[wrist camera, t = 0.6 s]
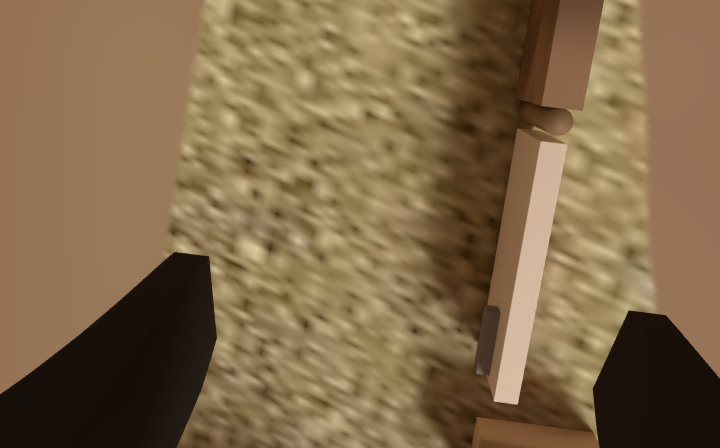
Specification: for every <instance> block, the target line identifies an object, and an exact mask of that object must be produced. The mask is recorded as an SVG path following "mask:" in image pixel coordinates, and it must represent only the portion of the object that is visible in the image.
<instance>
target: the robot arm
mask: <svg viewBox="0 0 720 448" xmlns="http://www.w3.org/2000/svg"><path fill="white" fill-rule="evenodd" d="M216 339H217V335H216V324H215V314H214V303H213V293H212V283H211V272H210V262H209V256H201V255H194V254H186V253H178V252H174V253H173V254H172V255H170V256H169V257H168V258H167V259H166V260H164V261H163V262H162V263H161V264H160V265H159V266H158V267H157V268H155V269H154V270H153V271H152V272H151V273H150V274H149V275H148V276H147V277H146V278H144V279H143V280H142V281H141V282H140V283H139V284H138V285H137V286H136V287H134V288H133V289H132V290H131V291H130V292H129V293H128V294H127V295H125V296H124V297H123V298H122V299H121V300H120V301H119V302H117V303H116V304H115V305H114V306H113V307H112V308H110V309H109V310H108V311H107V312H106V313H105V314H103V315H102V316H101V317H100V318H99V319H97V320H96V321H95V322H94V323H93V324H92V325H90V326H89V327H88V328H87V329H86V330H85V331H83V332H82V333H81V334H80V335H79V336H77V337H76V338H75V339H73V340H72V341H71V342H70V343H69V344H67V345H66V346H65V347H63V348H62V349H61V350H59V351H58V352H57V353H55V354H54V355H53V356H52V357H50V358H49V359H48V360H46V361H45V362H44V363H43V364H41V365H40V366H39V367H38V368H36V369H35V370H33V371H32V372H31V373H29V374H28V375H27V376H25V377H24V378H23V379H21V380H20V381H18V382H17V383H16V384H14V385H13V386H11V387H10V388H9V389H7V390H6V391H4V392H3V393H1V394H0V448H176V447H177V445H178V443H179V440H180V438H181V436H182V434H183V431H184V429H185V427H186V424H187V422H188V420H189V418H190V415H191V413H192V411H193V408H194V406H195V404H196V401H197V399H198V397H199V394H200V392H201V389H202V386H203V383H204V380H205V376H206V373H207V370H208V367H209V363H210V360H211V356H212V353H213V350H214V346H215V343H216ZM593 396H594V406H595V417H596V425H597V434H598V442H599V448H720V378H719V377H718V376H717V375H716V373H715V372H714V371H713V370H712V369H711V367H710V366H709V365H708V364H707V363H706V362H705V360H704V359H703V358H702V357H701V356H700V355H699V353H698V352H697V351H696V350H695V349H694V347H693V346H692V345H691V344H690V343H689V341H688V340H687V339H686V338H685V337H684V336H683V334H682V333H681V332H680V331H679V330H678V329H677V327H676V326H675V325H674V324H673V323H672V322H671V321H670V320H669V318H668V317H667V316H666V315H660V314H652V313H644V312H637V311H628V313H627V316H626V318H625V320H624V322H623V324H622V326H621V329H620V331H619V333H618V335H617V337H616V340H615V342H614V344H613V346H612V348H611V350H610V353H609V355H608V357H607V359H606V361H605V363H604V366H603V368H602V370H601V372H600V374H599V376H598V379H597V381H596V383H595V385H594V387H593Z"/></svg>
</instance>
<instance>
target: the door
mask: <svg viewBox="0 0 720 448" xmlns="http://www.w3.org/2000/svg"><path fill="white" fill-rule="evenodd" d="M566 150H567V144H566V143H564V142H561V141H559V140H557V139H555V138H553V137H551V136H549V135H547V134H545V133H543V132H541V131H537V130H528V129H519V128H517V133H516V139H515V145H514V151H513V157H512V163H511V169H510V174H509V180H508V186H507V192H506V198H505V204H504V210H503V216H502V221H501V227H500V233H499V239H498V245H497V251H496V257H495V262H494V268H493V274H492V280H491V286H490V292H489V298H488V304H487V305H484V310H483V316H482V322H481V328H480V334H479V340H478V346H477V351H476V357H475V363H474V367H475V371H476V374H481V375H487V378H488V382H489V386H490V389H491V393H492V397H493V400H494V402H502V403H509V404H517V405H518V400H519V395H520V389H521V384H522V379H523V374H524V369H525V363H526V358H527V353H528V348H529V342H530V337H531V332H532V327H533V322H534V316H535V311H536V306H537V301H538V296H539V290H540V285H541V280H542V275H543V269H544V264H545V259H546V254H547V249H548V243H549V238H550V233H551V228H552V223H553V217H554V212H555V207H556V202H557V196H558V191H559V186H560V181H561V176H562V170H563V165H564V160H565V155H566Z"/></svg>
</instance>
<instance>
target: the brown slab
mask: <svg viewBox="0 0 720 448" xmlns="http://www.w3.org/2000/svg"><path fill="white" fill-rule="evenodd" d="M603 3H604V0H532V3H531V9H530V15H529V21H528V27H527V33H526V39H525V45H524V51H523V57H522V63H521V69H520V75H519V81H518V87H517V93H516V99H520V100H523V101H525V102H524V103H523V104H522V105H521V106H520V109H519V115H520V117H521V119H522V120H523V121H525V122H527V123H530V124H532V125H534V126H536V127H538V128H540V129H542V130H545V131H547V132H549V133H551V134H553V135H557V136H560V135H564V134H566V133H567V132H569V131H570V129H571V128H572V125H573V117H572V115H571V113H570V112H569V111H568V110H566V109H572V110H581V111H582V110H583V105H584V100H585V95H586V90H587V85H588V80H589V75H590V69H591V64H592V59H593V54H594V49H595V44H596V39H597V34H598V28H599V23H600V18H601V13H602V8H603Z"/></svg>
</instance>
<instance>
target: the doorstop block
mask: <svg viewBox="0 0 720 448" xmlns="http://www.w3.org/2000/svg"><path fill="white" fill-rule="evenodd" d="M471 448H599V443H598V441H597V439H596V437H595V435H594V433H593V432H588V431H580V430H573V429H565V428H557V427H550V426H542V425H535V424H527V423H519V422H512V421H504V420H497V419H489V418H482V417H477V418H476V424H475V430H474V435H473V441H472V447H471Z"/></svg>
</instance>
